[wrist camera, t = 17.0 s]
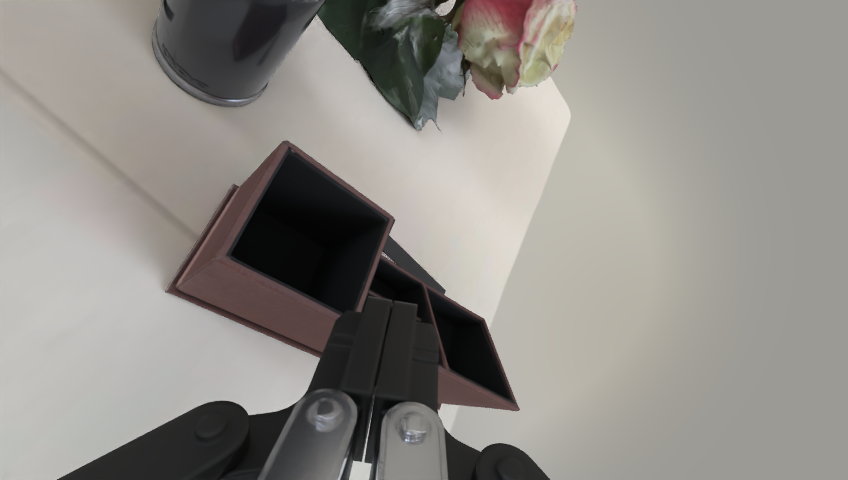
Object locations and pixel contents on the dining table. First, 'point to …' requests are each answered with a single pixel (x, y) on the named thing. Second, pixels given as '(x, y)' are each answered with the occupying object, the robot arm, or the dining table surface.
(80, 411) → the dining table surface
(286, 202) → the desk organizer
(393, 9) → the rose bouquet
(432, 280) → the tape line
